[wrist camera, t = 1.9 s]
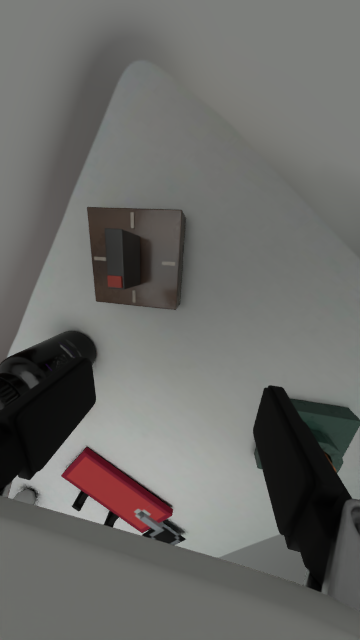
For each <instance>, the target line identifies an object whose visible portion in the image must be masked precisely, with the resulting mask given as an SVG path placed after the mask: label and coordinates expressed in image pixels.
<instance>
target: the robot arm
mask: <svg viewBox="0 0 360 640" xmlns="http://www.w3.org/2000/svg"><path fill="white" fill-rule="evenodd" d="M95 402H96V394H95V386H94V377H93V369H92V362H91V361H90V360H89V358H86V357H80V356H77V357H75V358H74V359H72V360H71V361H70V362H68V363H67V364H65V365H64V366H62V367H61V368H60V369H58V370H57V371H55V372H54V373H53V374H51V375H50V376H48V377H47V378H45V379H44V380H43V381H41V382H40V383H38V384H37V385H36V386H34V387H33V388H31V389H30V390H28V391H27V392H26V393H24V394H23V395H21V396H20V397H19V398H17V399H16V400H14V401H13V402H11V403H10V404H9V405H7V406H6V407H4V408H3V409H2V410H0V640H360V500H358V499H352V497H351V496H350V494H349V493H348V491H347V489H346V488H345V486H344V484H343V483H342V481H341V479H340V478H339V476H338V474H337V473H336V471H335V470H334V468H333V466H332V465H331V463H330V461H329V460H328V458H327V456H326V455H325V453H324V451H323V450H322V448H321V447H320V445H319V443H318V442H317V440H316V438H315V437H314V435H313V433H312V432H311V430H310V428H309V427H308V425H307V424H306V423H305V422H304V421H303V420H302V418H301V417H300V415H299V413H298V412H297V410H296V408H295V407H294V405H293V403H292V402H291V400H290V398H289V397H288V395H287V393H286V392H285V390H284V389H283V388H282V387H277V386H271V385H270V386H268V388H264V391H263V395H262V398H261V402H260V406H259V409H258V413H257V417H256V420H255V424H254V428H253V434H254V439H255V442H256V446H257V450H258V454H259V458H260V462H261V466H262V469H263V473H264V477H265V481H266V485H267V489H268V493H269V496H270V500H271V504H272V508H273V512H274V516H275V520H276V523H277V527H278V530H279V532H280V534H281V535H284V536H285V540H286V544H287V547H288V549H290V550H294V551H298V552H301V556H302V559H303V562H304V565H305V567H306V568H307V571H306V575H305V578H304V582H303V585H300V584H298V583H295V582H292V581H289V580H286V579H283V578H280V577H276V576H273V575H270V574H267V573H264V572H261V571H258V570H254V569H251V568H248V567H245V566H242V565H239V564H236V563H232V562H229V561H226V560H222V559H219V558H215V557H212V556H209V555H205V554H202V553H198V552H195V551H192V550H188V549H185V548H181V547H178V546H175V545H171V544H168V543H164V542H161V541H158V540H154V539H151V538H147V537H144V536H140V535H137V534H133V533H130V532H126V531H123V530H120V529H116V528H113V527H109V526H106V525H102V524H99V523H95V522H92V521H88V520H85V519H81V518H78V517H74V516H71V515H67V514H64V513H60V512H56V511H53V510H49V509H46V508H42V507H39V506H35V505H31V504H28V503H24V502H21V501H17V500H14V499H10V498H8V495H9V491H10V488H11V484H12V480H13V479H14V478H15V477H16V476H17V475H18V477H20V478H24V479H27V480H30V479H31V478H32V477H33V476H34V475H35V473H36V472H38V471H40V470H41V469H42V468H43V467H44V466H45V465H46V464H47V462H48V461H49V460H50V459H51V457H52V456H53V455H54V454H55V452H56V451H57V450H58V449H59V448H60V446H61V445H62V444H63V443H64V441H65V440H66V439H67V438H68V436H69V435H70V434H71V433H72V432H73V430H74V429H75V428H76V427H77V425H78V424H79V423H80V422H81V420H82V419H83V418H84V417H85V415H86V414H87V413H88V412H89V411H90V409H91V408H92V407H93V406H94V404H95Z"/></svg>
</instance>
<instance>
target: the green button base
mask: <svg viewBox="0 0 360 640" xmlns="http://www.w3.org/2000/svg"><path fill="white" fill-rule="evenodd" d="M290 400H291V402H292V403H293V405H294V407H295V408H296V410H297V412H298V413H299V415H300V417H301V418H302V420H303V421H304V422H305V423H306V424H307V425H308V427H309V428H310V430H311V432H312V433H313V435H314V437H315V438H316V440H317V442H318V443H319V445H320V447H321V448H322V450H323V451H324V453H325V454H326V455H327V457H328V458H329V460H330V461H331V463H332V465H333V466H334V468H335V470H336V473H338V471H339V470H340V468H341V466H342V464H343V459H342V457H343V456H344V454H345V452H346V450H347V448H348V446H349V444H350V443H351V441H352V439H353V437H354V435H355V433H356V431H357V430H358V428H359V426H360V419H359V418H358V417H357V416H356V415H355V414H354V413H353V412H352V411H351V410H350V409H349V408H346V407H339V406H333V405H327V404H320V403H314V402H308V401H301V400H295V399H290ZM254 455H255V459H256V463H257V468H259V469H262V466H261V462H260V458H259V454H258V450H257V446H256V449H255V452H254Z"/></svg>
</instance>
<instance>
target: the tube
mask: <svg viewBox="0 0 360 640" xmlns="http://www.w3.org/2000/svg"><path fill="white" fill-rule="evenodd" d="M14 500H17V501H21V502H24V503H28V504H31V505H33V504H34V503H35V492H34V491H32V490H30V489H28V488H27V489H25V490H23V491H22V492H20V493H18V494H17V495H16V496H15V497H14Z"/></svg>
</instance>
